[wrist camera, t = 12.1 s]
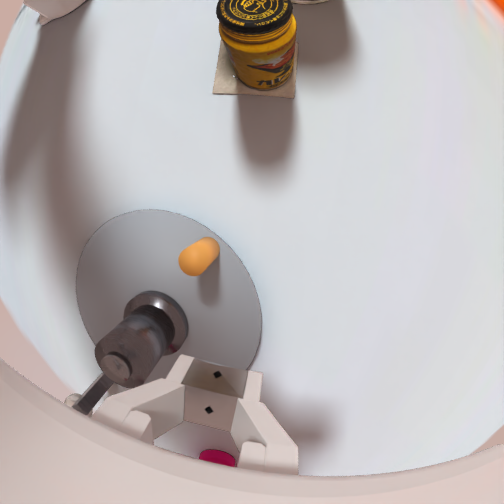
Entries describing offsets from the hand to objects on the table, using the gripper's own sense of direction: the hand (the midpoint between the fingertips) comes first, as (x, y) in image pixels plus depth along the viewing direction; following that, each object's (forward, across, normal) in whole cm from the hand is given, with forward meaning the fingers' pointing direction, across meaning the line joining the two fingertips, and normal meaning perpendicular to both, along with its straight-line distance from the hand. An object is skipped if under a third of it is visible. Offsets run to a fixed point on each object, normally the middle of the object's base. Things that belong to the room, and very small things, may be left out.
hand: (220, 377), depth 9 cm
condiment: (+20, +4, -20) cm, 28 cm away
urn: (+18, +10, +10) cm, 22 cm away
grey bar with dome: (+20, +20, +24) cm, 37 cm away
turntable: (+18, +10, +9) cm, 23 cm away
